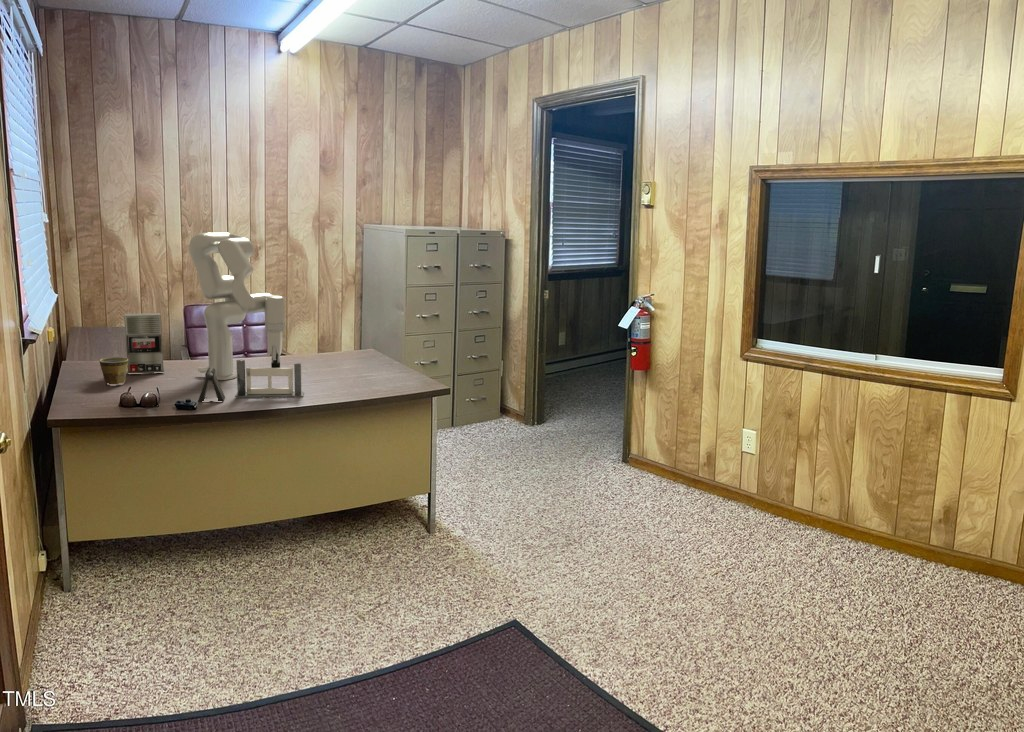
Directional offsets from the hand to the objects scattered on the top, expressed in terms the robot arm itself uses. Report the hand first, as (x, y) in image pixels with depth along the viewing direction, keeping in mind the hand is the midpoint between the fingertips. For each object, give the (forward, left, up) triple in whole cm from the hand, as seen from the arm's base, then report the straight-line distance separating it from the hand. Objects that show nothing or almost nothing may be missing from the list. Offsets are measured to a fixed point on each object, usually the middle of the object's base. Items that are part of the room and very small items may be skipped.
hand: (275, 372), depth 307 cm
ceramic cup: (-63, +9, -7) cm, 64 cm away
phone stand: (-22, -17, -7) cm, 28 cm away
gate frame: (-1, -11, -7) cm, 13 cm away
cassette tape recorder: (-55, +27, -7) cm, 62 cm away
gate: (-1, -11, -6) cm, 12 cm away
